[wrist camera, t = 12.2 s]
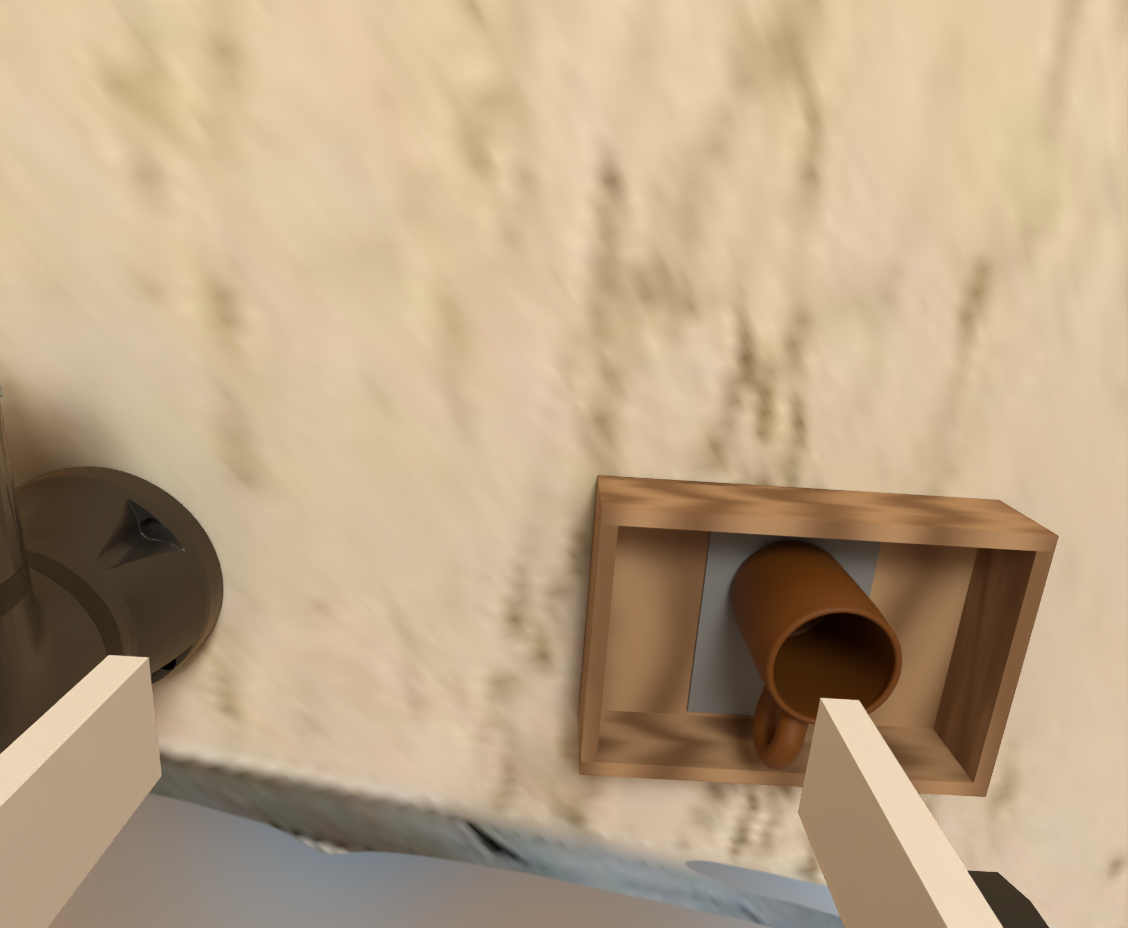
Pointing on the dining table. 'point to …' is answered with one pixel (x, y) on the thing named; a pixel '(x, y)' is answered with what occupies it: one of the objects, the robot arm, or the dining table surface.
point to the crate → (900, 591)
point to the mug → (808, 643)
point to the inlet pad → (720, 648)
